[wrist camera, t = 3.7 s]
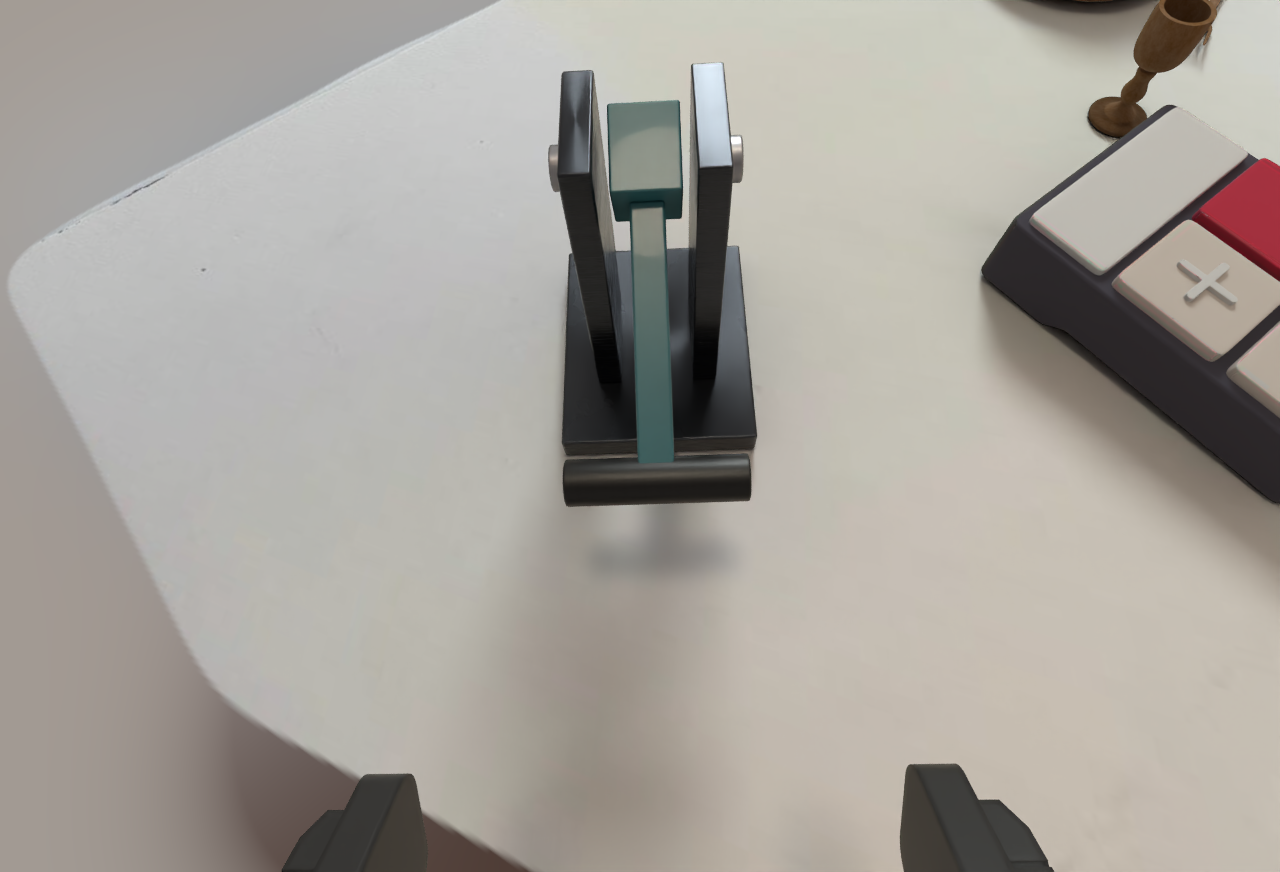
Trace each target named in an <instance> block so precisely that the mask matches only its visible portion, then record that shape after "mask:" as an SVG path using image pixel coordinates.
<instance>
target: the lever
mask: <svg viewBox="0 0 1280 872" xmlns="http://www.w3.org/2000/svg"><path fill="white" fill-rule="evenodd" d="M607 124H608V156H609V189H610V196H611V201H612V206H613V211H614V215H615V220H616V221H617V222H621V221H630V238H631V269H632V299H633V330H634V360H635V391H636V421H637V452H638V457H636V458H607V459H579V460H566V461H565V463H564V467H563V493H564V500H565V504H566V506H568V507H576V506H608V505H639V504H670V503H701V502H732V501H749V500H750V498H751V467H750V460H749V456H748V454H722V455H694V456H674V438H673V410H672V383H671V355H670V328H669V301H668V273H667V246H666V219H680V218H681V217H682V200H683V175H682V149H681V123H680V102H679V100H670V101H651V102H633V103H615V104H608V105H607Z"/></svg>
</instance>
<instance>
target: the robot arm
mask: <svg viewBox="0 0 1280 872" xmlns="http://www.w3.org/2000/svg"><path fill="white" fill-rule="evenodd" d="M900 850H901V858H902V864H903V869H904V872H1054V870H1053V869H1052V867H1049V865H1048V860H1047V858H1046V857H1045V855H1044V853H1043V851H1042V850H1041V848H1040V846H1039V844H1038V843H1037V841H1036V839H1035V837H1034V836H1033V834H1032V832H1031V831H1030V829H1029V827H1028V826H1027V825H1025V824H1024V823H1023V822H1022V821H1021V820H1020V819H1019V818H1018V817H1017V816H1016V815H1015V814H1014V813H1013V812H1012V811H1011V810H1009V809H1008V808H1007V807H1006V806H1005V805H1004V804H1003V803H1002V802H1001V801H1000V800H978V798H977V796H976V794H975V792H974V790H973V789H972V787H971V785H970V783H969V781H968V779H967V777H966V775H965V773H964V771H963V770H962V768H961V767H960V766H959V765H958V764H910V765H908V767H907V769H906V775H905V785H904V796H903V807H902V818H901V829H900ZM427 858H428V847H427V839H426V834H425V828H424V823H423V818H422V812H421V807H420V801H419V796H418V791H417V785H416V781H415V778H414V776H413V775H412V774H367V775H364V776H363V777H362V778H361V780H360V781H359V783H358V784H357V786H356V788H355V790H354V792H353V794H352V796H351V798H350V800H349V802H348V804H347V806H346V808H345V810H328V811H327V812H326V813H324V814H323V815H322V816H321V817H320V818H319V820H317V822H315V823H314V824H313V825H312V826H311V827H310V828H309V829H308V830H307V831H306V832H305V833H304V834H303V835H302V836H301V837H300V839H299V840H298V842H297V844H296V846H295V847H294V849H293V851H292V852H291V854H290V856H289V858H288V860H287V861H286V863H285V865H284V867H283V869H282V872H426V868H427Z"/></svg>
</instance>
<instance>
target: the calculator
mask: <svg viewBox="0 0 1280 872" xmlns="http://www.w3.org/2000/svg"><path fill="white" fill-rule="evenodd" d="M981 271H982V274H983V275H984V276H985V277H986V278H987V279H988V280H989V281H990V282H991V283H993V284H994V285H995V286H996V287H997V288H999V289H1000V290H1001V291H1002V292H1003V293H1005V294H1006V295H1007V296H1008V297H1010V298H1011V299H1012V300H1013V301H1014V302H1016V303H1017V304H1018V305H1019V306H1020V307H1022V308H1023V309H1024V310H1025V311H1026V312H1028V313H1029V314H1030V315H1031V316H1032V317H1034V318H1035V319H1036V320H1037V321H1038V322H1040V323H1042V324H1045V325H1048V326H1052V327H1055V328H1059V329H1062V330H1064V331H1066V332H1067V333H1068V334H1070V335H1071V336H1072V337H1073V338H1075V339H1076V340H1077V341H1078V342H1080V343H1081V344H1082V345H1083V346H1084V347H1086V348H1087V349H1088V350H1089V351H1090V352H1092V353H1093V354H1094V355H1095V356H1097V357H1098V358H1099V359H1100V360H1101V361H1103V362H1104V363H1105V364H1106V365H1107V366H1109V367H1110V368H1111V369H1112V370H1114V371H1115V372H1116V373H1117V374H1118V375H1120V376H1121V377H1122V378H1123V379H1124V380H1126V381H1127V382H1128V383H1129V384H1130V385H1132V386H1133V387H1134V388H1135V389H1137V390H1138V391H1139V392H1140V393H1141V394H1143V395H1144V396H1145V397H1146V398H1147V399H1149V400H1150V401H1151V402H1152V403H1154V404H1155V405H1156V406H1157V407H1158V408H1160V409H1161V410H1162V411H1163V412H1164V413H1166V414H1167V415H1168V416H1169V417H1171V418H1172V419H1173V420H1174V421H1175V422H1177V423H1178V424H1179V425H1180V426H1181V427H1183V428H1184V429H1185V430H1186V431H1188V432H1189V433H1190V434H1191V435H1192V436H1194V437H1195V438H1196V439H1197V440H1198V441H1200V442H1201V443H1202V444H1203V445H1204V446H1206V447H1207V448H1208V449H1209V450H1211V451H1212V452H1213V453H1214V454H1215V455H1217V456H1218V457H1219V458H1220V459H1221V460H1223V461H1224V462H1225V463H1226V464H1228V465H1229V466H1230V467H1231V468H1232V469H1234V470H1235V471H1236V472H1237V473H1238V474H1240V475H1241V476H1242V477H1243V478H1245V479H1246V480H1247V481H1248V482H1249V483H1251V484H1252V485H1253V486H1254V487H1255V488H1257V489H1258V490H1259V491H1260V492H1262V493H1263V494H1264V495H1265V496H1266V497H1268V498H1269V499H1270V500H1272V501H1274V502H1277V503H1280V166H1278V165H1277V164H1275V163H1274V162H1272V161H1270V160H1268V159H1266V158H1263V159H1260V160H1258V159H1256V158H1255V157H1253V156H1252V155H1250V154H1249V153H1248V152H1247V151H1246V150H1245V149H1244V148H1243V147H1241V146H1240V145H1238V144H1237V143H1235V142H1233V141H1232V140H1230V139H1229V138H1227V137H1226V136H1224V135H1223V134H1221V133H1220V132H1218V131H1217V130H1215V129H1214V128H1212V127H1211V126H1209V125H1208V124H1206V123H1204V122H1203V121H1201V120H1200V119H1198V118H1197V117H1195V116H1194V115H1192V114H1191V113H1189V112H1188V111H1186V110H1184V109H1183V108H1180V107H1177V106H1174V105H1166V106H1164V107H1162V108H1161V109H1159V110H1158V111H1157V112H1155V113H1154V114H1153V115H1151V116H1150V117H1149V118H1147V119H1146V120H1145V121H1143V122H1142V123H1141V124H1139V125H1138V126H1136V127H1135V128H1134V129H1132V130H1131V131H1130V132H1128V133H1127V134H1126V135H1124V136H1123V137H1122V138H1120V139H1119V140H1118V141H1116V142H1115V143H1114V144H1112V145H1111V146H1110V147H1108V148H1107V149H1106V150H1104V151H1103V152H1102V153H1100V154H1099V155H1098V156H1096V157H1095V158H1094V159H1092V160H1091V161H1090V162H1088V163H1087V164H1086V165H1084V166H1083V167H1082V168H1080V169H1079V170H1078V171H1076V172H1075V173H1074V174H1072V175H1071V176H1070V177H1068V178H1067V179H1066V180H1064V181H1063V182H1062V183H1060V184H1059V185H1058V186H1056V187H1055V188H1054V189H1052V190H1051V191H1050V192H1048V193H1047V194H1046V195H1044V196H1043V197H1042V198H1040V199H1039V200H1038V201H1036V202H1035V203H1034V204H1032V205H1031V206H1030V207H1028V208H1027V209H1026V210H1024V211H1023V212H1022V213H1020V214H1019V215H1018V216H1017V217H1016V218H1015V219H1014V220H1013V221H1012V223H1011V224H1010V226H1009V227H1008V229H1007V230H1006V232H1005V233H1004V235H1003V236H1002V238H1001V239H1000V241H999V242H998V244H997V245H996V247H995V248H994V250H993V251H992V253H991V254H990V256H989V257H988V258H987V260H986V261H985V263H984V265H983V266H982V269H981Z"/></svg>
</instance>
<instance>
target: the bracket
mask: <svg viewBox="0 0 1280 872" xmlns="http://www.w3.org/2000/svg"><path fill="white" fill-rule="evenodd" d="M548 162H549V174H550V181H551V186H552V189H553V191H555V192H560V195H561V200H562V204H563V209H564V214H565V219H566V224H567V229H568V234H569V239H570V244H571V248H572V253H571V254H569V267H568V294H567V321H566V348H565V375H564V402H563V429H562V444H563V447H564V450H565V453H566V455H586V454H614V453H638V452H637V421H636V391H635V360H634V330H633V299H632V269H631V251H616V250H615V242H614V233H613V225H612V217H611V209H610V201H609V193H608V185H607V177H606V168H605V160H604V152H603V144H602V136H601V128H600V120H599V112H598V103H597V95H596V87H595V79H594V73H593V71H591V70H586V71H568V72H563V73H562V78H561V98H560V118H559V138H558V145H550V147H549V152H548ZM742 176H743V140H742V137H741V135H731V133H730V123H729V113H728V103H727V93H726V82H725V72H724V64H723V63H722V62H718V63H701V64H692V65H691V108H690V186H689V248H678V249H667V273H668V301H669V328H670V355H671V383H672V410H673V438H674V451H700V450H728V449H753V448H754V447H755V443H756V438H757V430H756V420H755V409H754V399H753V389H752V378H751V368H750V357H749V347H748V337H747V326H746V316H745V305H744V295H743V285H742V274H741V264H740V254H739V247H738V246H727V242H728V230H729V218H730V206H731V194H732V183H740V182H741V181H742Z"/></svg>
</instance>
